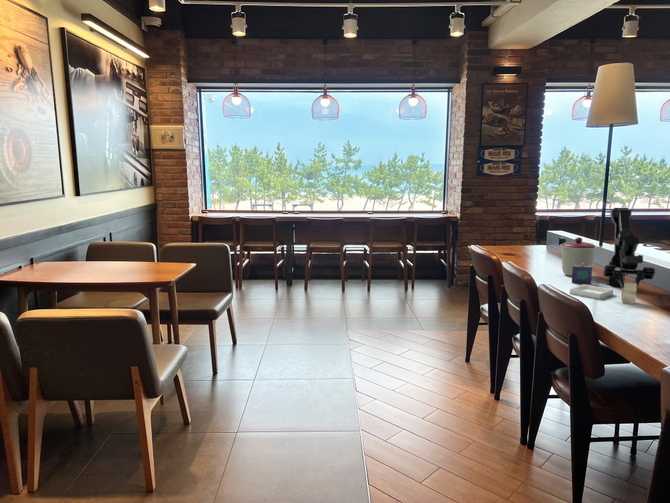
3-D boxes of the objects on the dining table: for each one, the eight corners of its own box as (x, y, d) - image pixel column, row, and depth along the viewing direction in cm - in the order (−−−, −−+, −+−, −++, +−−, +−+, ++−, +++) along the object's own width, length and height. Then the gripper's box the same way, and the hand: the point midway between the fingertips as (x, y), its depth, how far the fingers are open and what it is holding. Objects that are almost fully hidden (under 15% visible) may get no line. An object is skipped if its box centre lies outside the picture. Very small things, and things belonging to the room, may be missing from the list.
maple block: (621, 300, 208) (622, 280, 207) (633, 301, 207) (634, 281, 205) (622, 303, 204) (624, 282, 203) (635, 304, 203) (637, 283, 201)
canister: (595, 273, 263) (598, 236, 259) (594, 280, 247) (597, 240, 244) (559, 270, 272) (562, 234, 268) (556, 276, 257) (558, 238, 253)
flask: (590, 282, 242) (591, 262, 240) (592, 284, 239) (593, 263, 237) (570, 282, 244) (572, 262, 242) (572, 283, 241) (573, 263, 239)
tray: (583, 289, 229) (583, 284, 228) (612, 294, 218) (613, 289, 218) (569, 293, 221) (570, 288, 220) (599, 299, 210) (599, 294, 210)
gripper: (606, 247, 209) (608, 276, 201) (656, 249, 202) (660, 279, 193) (602, 261, 217) (604, 290, 209) (650, 263, 210) (653, 293, 202)
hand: (629, 288), depth 203 cm, fingers closed on maple block, 5 cm apart
